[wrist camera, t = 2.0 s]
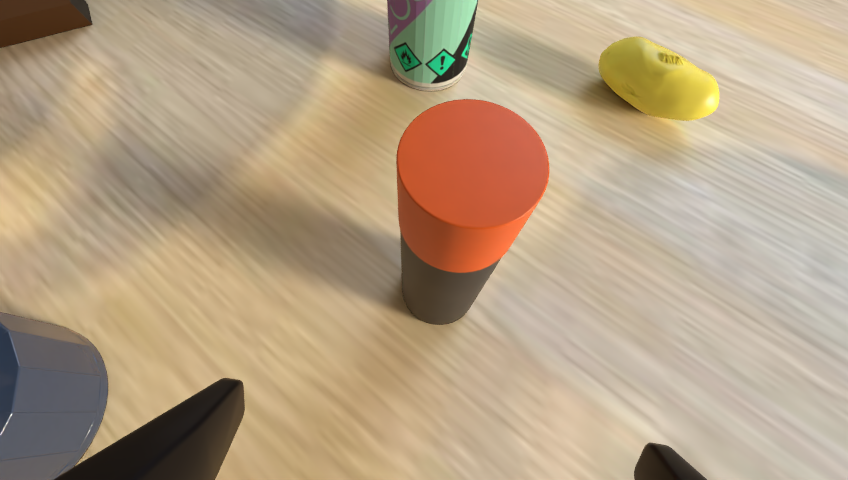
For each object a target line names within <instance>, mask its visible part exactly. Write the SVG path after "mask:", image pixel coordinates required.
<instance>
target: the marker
mask: <svg viewBox="0 0 848 480" xmlns="http://www.w3.org/2000/svg"><path fill="white" fill-rule="evenodd" d="M548 178H549V161H548V155H547V152H546V149H545V146H544V144H543V142H542V140H541V139H540V137H539V135H538V134H537V132H536V131H535V130H534V129H533V128H532V126H531V125H530V124H529V123H527V122H526V121H525V120H524V119H523V118H522V117H520V116H519V115H518V114H516V113H514V112H513V111H511V110H509V109H507V108H505V107H503V106H500V105H497V104H494V103H491V102H487V101H481V100H471V99H463V100H453V101H448V102H444V103H441V104H438V105H436V106H434V107H431V108H429V109H428V110H426V111H424V112H423V113H421V114H420V115H419V116H417V117H416V118H415V119H414V120H413V121H412V122H411V123H410V125H409V126H408V127H407V129H406V130H405V131H404V133H403V135H402V137H401V139H400V142H399V145H398V150H397V189H398V215H399V226H400V232H401V265H402V293H403V298H404V301H405V303H406V305H407V307H408V309H409V310H410V311H411V312H412V313H413V314H414V315H415V316H416V317H417V318H419V319H420V320H422V321H424V322H427V323H430V324H436V325H443V324H448V323H452V322H454V321H456V320H458V319H460V318H461V317H462V316H463V315H464V314H465V313H466V312H467V311H468V310H469V308H470V307H471V305H472V303H473V302H474V300H475V299H476V297H477V296H478V294H479V292H480V291H481V289H482V288H483V286H484V284H485V283H486V281H487V280H488V278H489V277H490V275H491V273H492V272H493V270H494V269H495V267H496V265H497V264H498V262H499V261H500V259H501V258H502V256H503V255H504V254H505V253H506V252H507V250H508V249H509V248H510V246H511V245H512V243H513V241H514V240H515V238H516V237H517V235H518V234H519V232H520V231H521V229H522V227H523V226H524V224H525V223H526V221H527V220H528V218H529V217H530V215H531V213H532V212H533V210H534V209H535V207H536V206H537V204H538V203H539V201H540V199H541V198H542V196H543V194H544V192H545V190H546V187H547V183H548Z"/></svg>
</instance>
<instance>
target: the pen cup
mask: <svg viewBox="0 0 848 480" xmlns="http://www.w3.org/2000/svg"><path fill="white" fill-rule="evenodd" d="M107 396H108V378H107V371H106V368H105V364H104V361H103V359H102V357H101V355H100V353H99V352H98V350H97V349H96V348H95V346H94V345H93V344H92V343H91V342H90V341H89V340H88V339H87V338H85V337H84V336H82V335H81V334H79V333H77V332H75V331H72V330H70V329H67V328H65V327H61V326H57V325H53V324H49V323H44V322H40V321H36V320H32V319H28V318H24V317H19V316H15V315H11V314H7V313H3V312H0V480H53V479H55V478H57V477H58V476H60V475H62V474H63V473H65V472H67V471H68V470H70V469H72V468H73V467H74V466H75V465H76V463H77V462H78V461H79V460H80V458H81V457H82V456H83V455H84V453H85V452H86V450H87V448H88V447H89V445H90V444H91V442H92V440H93V439H94V437H95V435H96V433H97V431H98V429H99V426H100V424H101V421H102V419H103V415H104V412H105V408H106V403H107Z"/></svg>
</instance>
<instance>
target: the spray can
mask: <svg viewBox="0 0 848 480" xmlns="http://www.w3.org/2000/svg"><path fill="white" fill-rule="evenodd" d="M387 4H388V27H389V49H390V62H391V68H392V70H393V72H394V74H395V75H396V77H397V78H398V79H399V80H400V81H401V82H403V83H404V84H406V85H407V86H410V87H412V88H414V89H418V90H423V91H437V90H442V89H445V88H448V87H450V86H452V85H454V84H455V83H457V82H458V81H459V80H460V79H461V77H462V76H463V74H464V72H465V69H466V65H467V60H468V55H469V49H470V43H471V38H472V32H473V26H474V21H475V15H476V10H477V4H478V0H387Z"/></svg>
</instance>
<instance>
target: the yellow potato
mask: <svg viewBox="0 0 848 480" xmlns="http://www.w3.org/2000/svg"><path fill="white" fill-rule="evenodd" d="M599 72H600V75H601V77H602V78H603V80H604V81H605V82H606V83H607V84H608V86H609V87H610V88H611V89H612V90H613V91H614V92H615V93H616V94H618V95H619V96H620V97H621V98H623V99H624V100H625V101H627V102H628V103H630V104H631V105H632V106H634V107H635V108H637V109H638V110H640V111H641V112H643V113H645V114H647V115H650V116H654V117H661V118H667V119H674V120H683V121H689V120H695V119H699V118H702V117H705V116H707V115H709V114H711V113H713V112H714V111H715V110H716V108H717V106H718V103H719V89H718V85H717V82H716V80H715V79H714V77H713V76H712V75H710V74H709V73H707V72H705V71H703V70H701V69H699V68H697V67H696V66H695V65H693V64H692V63H690V62H689V61H688V60H686V59H685V58H683V57H682V56H680V55H678V54H676V53H674V52H672V51H670V50H668V49H666V48H664V47H662V46H659V45H657V44H655V43H653V42H651V41H649V40H647V39H645V38H643V37H629V38H625V39H622V40H619V41H617V42H615V43H613V44H611V45H610V46H609V47H608V48H607V49H606V50H604V51H603V52H602V54H601V56H600V60H599Z"/></svg>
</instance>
